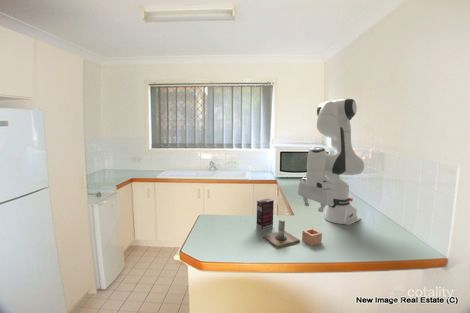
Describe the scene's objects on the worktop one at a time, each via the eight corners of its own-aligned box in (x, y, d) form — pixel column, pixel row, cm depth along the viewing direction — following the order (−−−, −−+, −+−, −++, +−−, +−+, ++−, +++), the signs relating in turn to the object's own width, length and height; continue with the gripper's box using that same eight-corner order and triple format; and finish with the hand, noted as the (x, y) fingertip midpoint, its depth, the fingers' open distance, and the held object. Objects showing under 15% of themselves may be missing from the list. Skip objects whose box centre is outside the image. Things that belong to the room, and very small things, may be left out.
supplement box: (267, 224, 155) (268, 198, 152) (273, 227, 151) (274, 200, 149) (255, 228, 150) (256, 200, 147) (261, 231, 146) (262, 203, 144)
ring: (311, 237, 140) (312, 228, 139) (321, 242, 134) (322, 233, 133) (302, 240, 137) (302, 230, 136) (311, 245, 131) (312, 235, 130)
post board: (284, 232, 145) (285, 214, 143) (299, 242, 134) (300, 222, 133) (262, 238, 138) (263, 219, 136) (277, 248, 128) (277, 227, 126)
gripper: (295, 177, 138) (294, 203, 140) (326, 186, 120) (324, 216, 122) (305, 176, 141) (303, 202, 143) (336, 185, 123) (334, 214, 125)
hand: (313, 208), depth 133 cm, fingers open, 8 cm apart
